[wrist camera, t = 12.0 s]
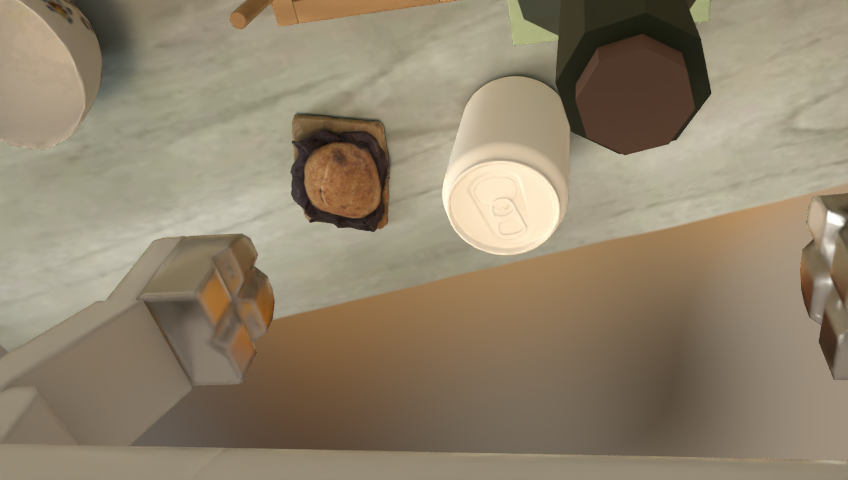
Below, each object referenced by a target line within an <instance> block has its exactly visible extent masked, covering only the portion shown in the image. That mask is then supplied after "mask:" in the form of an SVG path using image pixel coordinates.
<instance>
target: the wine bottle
mask: <svg viewBox="0 0 848 480" xmlns="http://www.w3.org/2000/svg"><path fill="white" fill-rule="evenodd" d="M695 1H696V0H518V3H519V6H520V9H521V12H522V15H523V18H524V20H526V21H529V22H531V23H533V24H535V25H537V26H539V27H541V28H543V29H545V30H547V31H549V32H552V33H554V34H556V35H558V51H557V67H556V86H557V89H558V92H559V95H560V98H561V101H562V104H563V107H564V111H565V114H566V117H567V120H568V123H569V126H570V129H571V132H573V133H575V134H577V135H580V136H582V137H584V138H586V139H588V140H590V141H592V142H595V143H597V144H599V145H601V146H603V147H605V148H607V149H610V150H612V151H614V152H616V153H618V154H624V155H627V154H631V153H635V152H639V151H643V150H647V149H651V148H655V147H659V146H663V145H667V144H669V143H670V142H671V141H674V140H677V138H678V137H679V136H680V134H681V133H682V132H683V130H684V129H685V128H686V126H687V125H688V124H689V122H690V121H691V120H692V119H693V117H694V116H695V115H696V113H697V112H698V111H699V109H700V108H701V107H702V105H703V104H704V103H705V101H706V100H707V99H708V97H709V96H710V95H711V89H710V84H709V78H708V73H707V68H706V63H705V58H704V53H703V48H702V43H701V39H700V36H699V33H698V31H697V28H696V25H695V23H694V20H693V17H692V15H691V12H690V9H691V7H692V6H693V4H694V3H695Z"/></svg>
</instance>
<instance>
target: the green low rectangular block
mask: <svg viewBox="0 0 848 480" xmlns="http://www.w3.org/2000/svg"><path fill="white" fill-rule="evenodd" d="M508 7H509V15H510V23H511V31H512V39H513V45H514V46H515V45H523V44H531V43H539V42H547V41H554V40H558V35H556V34H554V33H552V32H549V31H547V30H545V29H543V28H541V27H539V26H537V25H535V24H533V23H531V22H529V21H526V20H524V18H523V15H522V12H521V9H520V6H519V3H518V0H508ZM690 12H691V15H692V17H693V20H694V23H698V22H706V21H709V20H710V0H696V1H695V3H694V4H693V6H692V7H691V9H690Z"/></svg>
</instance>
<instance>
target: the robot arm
mask: <svg viewBox="0 0 848 480" xmlns="http://www.w3.org/2000/svg"><path fill="white" fill-rule="evenodd" d="M806 223H807V225H808V227H809V230H810V232H811V234H812V236H813V240H812V241H811V242H810V243H809V244H808V245H807V246H806V247H805V248H804V249H803V250H802V258H801V268H800V273H801V290H802V295H803V299H804V304H805V306H806V309H807V312H808V315H809V317H810V318H811V319H813V320H814V321H816V322H817V323H819V324H820V325H821V331H820V338H819V344H820V346H821V349H822V351H823V354H824V356H825V358H826V361H827V363H828V366H829V369H830V371H831V374H832V376H833V379H834V380H848V193H844V194H832V195H819V196H813V197H812V199H811V202H810V204H809V208H808V214H807V221H806ZM257 256H258V253H257V251H256V249H255V247H254V245H253V243H252V241H251V239H250V238H249V237H247V236H245V235H243V234H223V235H201V236H188V237H185V236H180V237H167V238H161V239H158V240H154V241H153V242H152V243H151V245H150V246H149V247H148V248H147V250H146V251H145V252H144V253H143V255H142V256H141V257H140V258H139V260H138V261H137V262H136V263H135V265H134V266H133V267H132V268H131V270H130V271H129V272H128V273H127V275H126V276H125V277H124V278H123V280H122V281H121V282H120V283H119V284H118V286H117V287H116V288H115V289H114V291H113V292H112V293H111V294H110V296H109V297H108V298H107V299H106V301H97V302H95V303H93V304H92V305H90V306H88V307H87V308H85V309H83V310H82V311H80V312H78V313H76V314H75V315H73V316H71V317H70V318H68V319H66V320H64V321H63V322H61V323H59V324H58V325H56V326H54V327H53V328H51V329H49V330H47V331H46V332H44V333H42V334H41V335H39V336H37V337H36V338H34V339H32V340H30V341H29V342H27V343H25V344H24V345H22V346H20V347H18V348H17V349H15V350H13V351H12V352H10V353H8V354H7V355H5V356H3V357H2V358H0V480H848V460H801V459H800V460H799V459H794V460H793V459H750V458H705V457H704V458H703V457H702V458H701V457H657V456H611V455H566V454H564V455H563V454H516V453H515V454H514V453H462V452H409V451H406V452H405V451H354V450H300V449H250V448H249V449H248V448H247V449H246V448H198V447H148V446H145V447H144V446H130V445H131V444H132V443H133V442H134V441H135V440H136V439H137V438H139V437H140V435H142V434H143V433H144V432H145V431H146V430H147V429H148V428H150V426H152V425H153V424H154V423H155V422H156V421H157V420H158V419H159V418H161V417H162V416H163V415H164V414H165V413H166V412H167V411H168V410H169V409H170V408H172V407H173V405H175V404H176V403H177V402H178V401H179V400H180V399H182V398H183V397H184V396H185V395H186V394H187V393H188V392H189V391H190V390H191V389H192V388H193V387H192V386H193V385H221V384H241V382H242V380H243V379H244V377H245V375H246V373H247V371H248V369H249V367H250V364H251V363H252V361H253V359H254V357H255V355H256V350H255V347H254V345H253V342H254V341H256V340H257V339H258V338H260V337H261V336H262V335H263V334H265V333H266V332H267V330H268V328H269V326H270V324H271V321H272V319H273V311H274V303H275V302H274V296H273V290H272V286H271V284H270V282H269V279H268V277H267V276H266V275H265V274H264V273H263V272H261V271H260V270H259V269H258V268H256V267H255V266H254V265H255V262H256V259H257Z"/></svg>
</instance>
